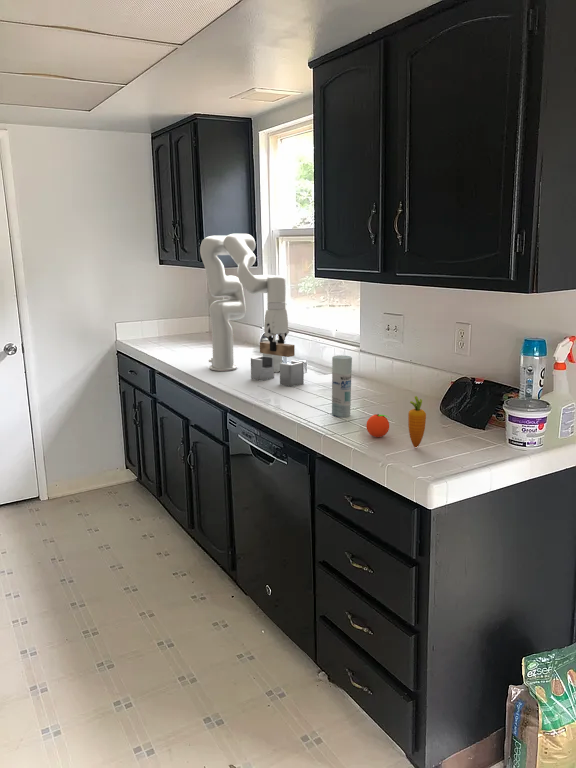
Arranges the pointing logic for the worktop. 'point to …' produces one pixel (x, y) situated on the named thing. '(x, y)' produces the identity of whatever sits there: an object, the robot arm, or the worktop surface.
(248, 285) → the robot arm
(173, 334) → the worktop surface
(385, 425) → the clementine
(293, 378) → the brackets
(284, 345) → the walnut rail
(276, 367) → the skincare box
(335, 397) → the spray paint can
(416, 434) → the carrot
